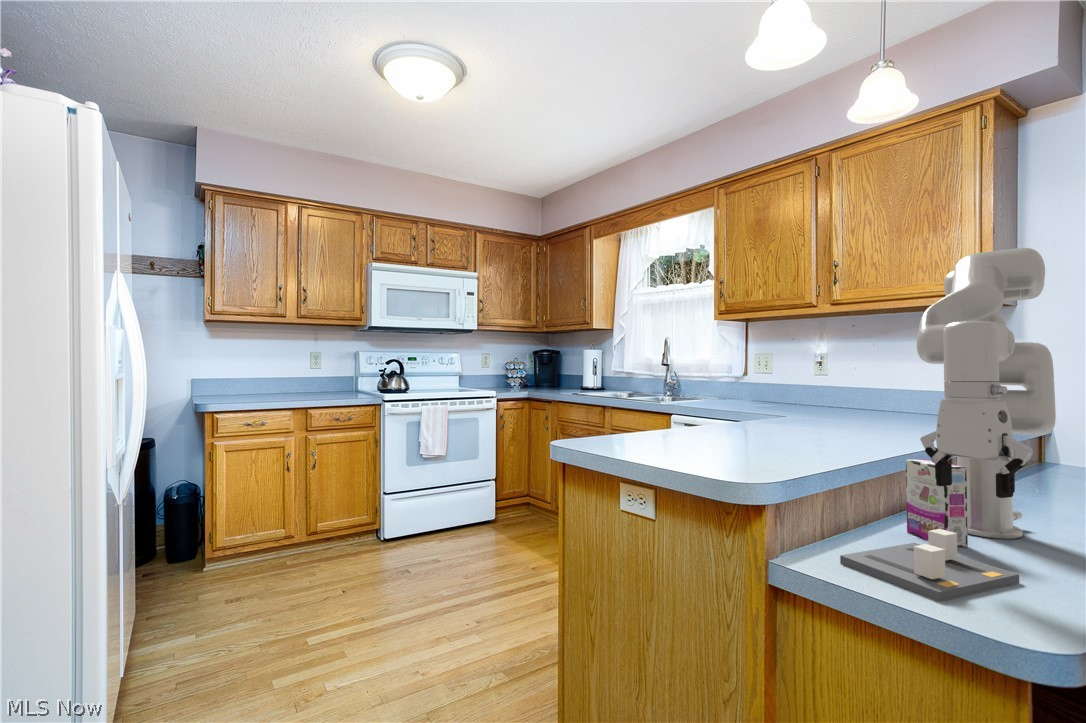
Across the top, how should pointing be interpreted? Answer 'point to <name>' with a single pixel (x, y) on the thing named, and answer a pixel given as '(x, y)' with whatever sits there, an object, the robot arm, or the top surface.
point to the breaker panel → (900, 571)
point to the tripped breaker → (944, 542)
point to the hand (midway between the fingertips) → (972, 491)
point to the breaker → (929, 561)
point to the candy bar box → (936, 501)
